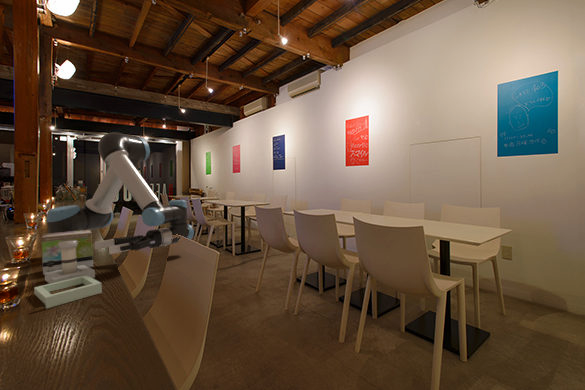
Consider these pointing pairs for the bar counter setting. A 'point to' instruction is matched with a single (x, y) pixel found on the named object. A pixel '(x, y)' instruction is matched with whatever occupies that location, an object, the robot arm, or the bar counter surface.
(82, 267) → the white square dish
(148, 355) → the bar counter surface
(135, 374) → the bar counter surface
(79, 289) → the parts tray
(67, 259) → the fuse
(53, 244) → the tea box
